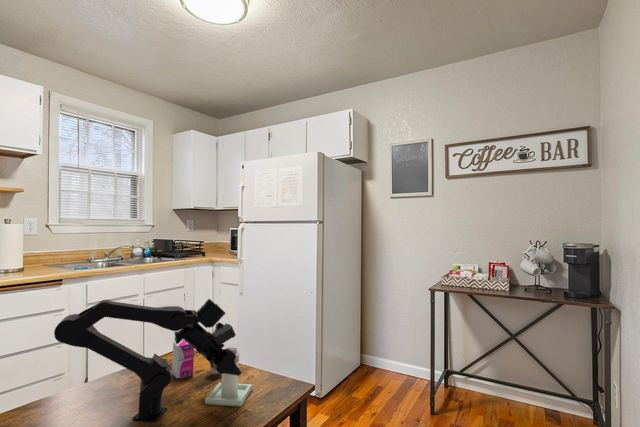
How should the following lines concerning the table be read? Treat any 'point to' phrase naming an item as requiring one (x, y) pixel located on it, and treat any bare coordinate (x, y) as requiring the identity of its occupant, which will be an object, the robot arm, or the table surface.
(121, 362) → the robot arm
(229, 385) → the bottle
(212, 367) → the light bulb
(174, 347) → the supplement box
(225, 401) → the tray
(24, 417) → the table surface
